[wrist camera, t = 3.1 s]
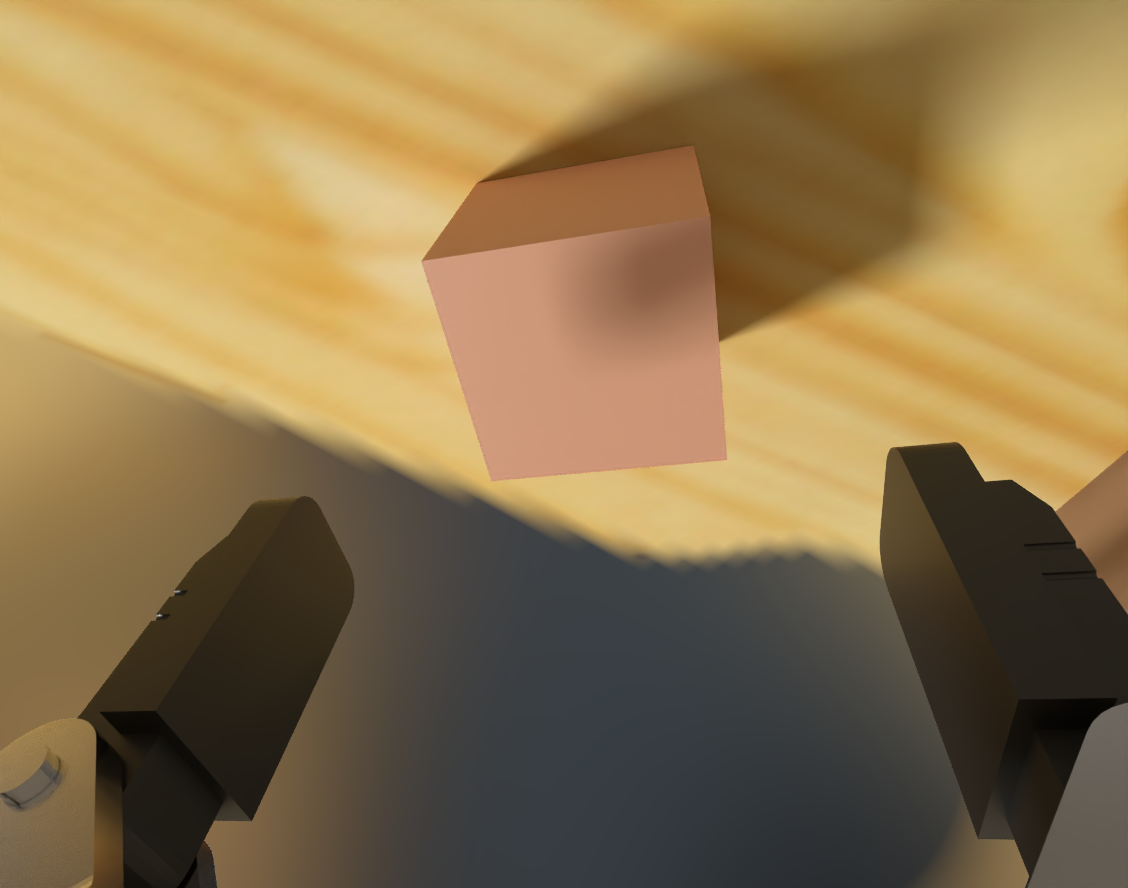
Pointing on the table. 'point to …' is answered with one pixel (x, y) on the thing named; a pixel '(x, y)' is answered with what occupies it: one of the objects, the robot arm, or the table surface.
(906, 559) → the robot arm
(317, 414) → the table surface
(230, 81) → the table surface
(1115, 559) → the tower base block
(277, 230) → the table surface
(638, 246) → the terracotta block
